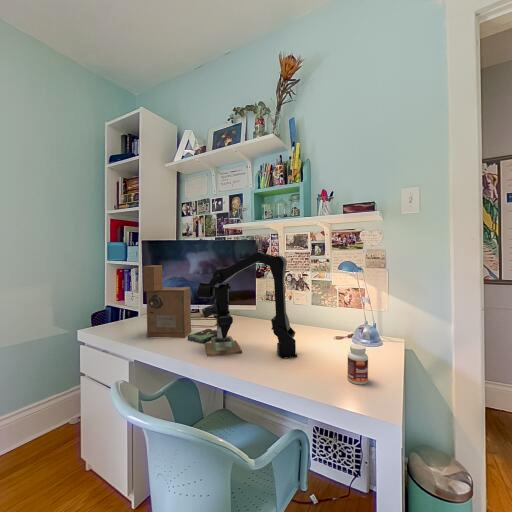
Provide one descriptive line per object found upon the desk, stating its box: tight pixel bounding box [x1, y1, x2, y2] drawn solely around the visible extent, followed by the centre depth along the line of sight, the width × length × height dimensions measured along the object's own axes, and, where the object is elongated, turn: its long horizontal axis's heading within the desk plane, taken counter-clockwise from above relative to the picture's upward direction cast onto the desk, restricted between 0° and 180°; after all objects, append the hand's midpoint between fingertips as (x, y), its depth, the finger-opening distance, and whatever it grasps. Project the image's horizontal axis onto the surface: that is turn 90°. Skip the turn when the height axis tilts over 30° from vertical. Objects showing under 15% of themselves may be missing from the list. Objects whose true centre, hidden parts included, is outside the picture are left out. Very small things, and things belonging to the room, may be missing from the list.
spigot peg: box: [216, 323, 229, 343], centre depth 121 cm, size 4×4×10 cm
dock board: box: [204, 335, 243, 358], centre depth 121 cm, size 14×14×4 cm
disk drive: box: [187, 328, 217, 345], centre depth 137 cm, size 10×3×15 cm
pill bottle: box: [347, 343, 369, 386], centre depth 91 cm, size 6×6×11 cm
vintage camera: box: [142, 264, 192, 339], centre depth 141 cm, size 19×14×35 cm
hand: (222, 335), depth 121 cm, fingers open, 9 cm apart
